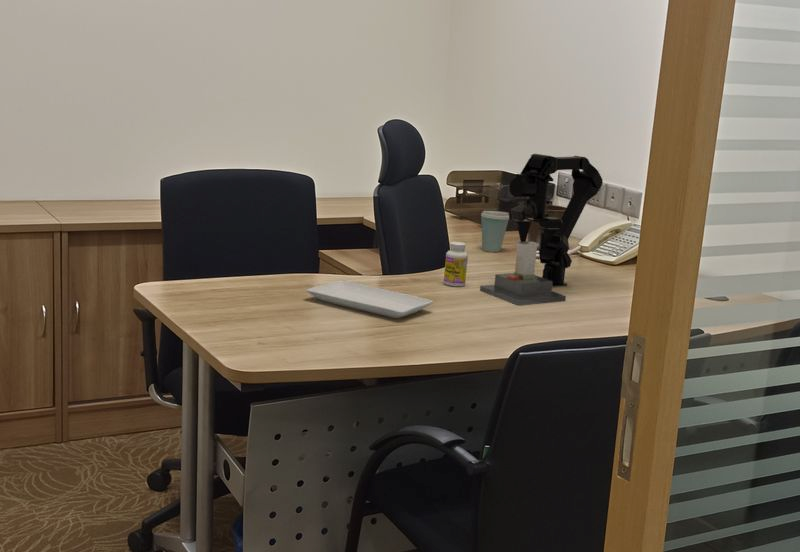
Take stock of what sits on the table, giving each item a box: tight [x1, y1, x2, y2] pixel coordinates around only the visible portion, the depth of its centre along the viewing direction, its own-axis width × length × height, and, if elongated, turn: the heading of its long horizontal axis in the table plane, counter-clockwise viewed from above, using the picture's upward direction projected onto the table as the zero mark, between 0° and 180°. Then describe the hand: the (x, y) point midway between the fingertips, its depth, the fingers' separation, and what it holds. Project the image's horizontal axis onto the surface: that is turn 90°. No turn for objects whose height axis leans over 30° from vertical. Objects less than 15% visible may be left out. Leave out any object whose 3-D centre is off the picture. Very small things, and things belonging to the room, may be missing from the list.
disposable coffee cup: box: [480, 210, 511, 253], centre depth 344 cm, size 11×11×15 cm
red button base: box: [479, 272, 567, 306], centre depth 275 cm, size 18×18×6 cm
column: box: [513, 241, 539, 280], centre depth 274 cm, size 6×4×11 cm
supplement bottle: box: [443, 241, 469, 288], centre depth 283 cm, size 7×7×13 cm
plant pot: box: [527, 204, 567, 251], centre depth 357 cm, size 16×16×16 cm
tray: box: [305, 279, 434, 319], centre depth 251 cm, size 17×31×4 cm, turn 57°
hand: (532, 246), depth 285 cm, fingers open, 9 cm apart
